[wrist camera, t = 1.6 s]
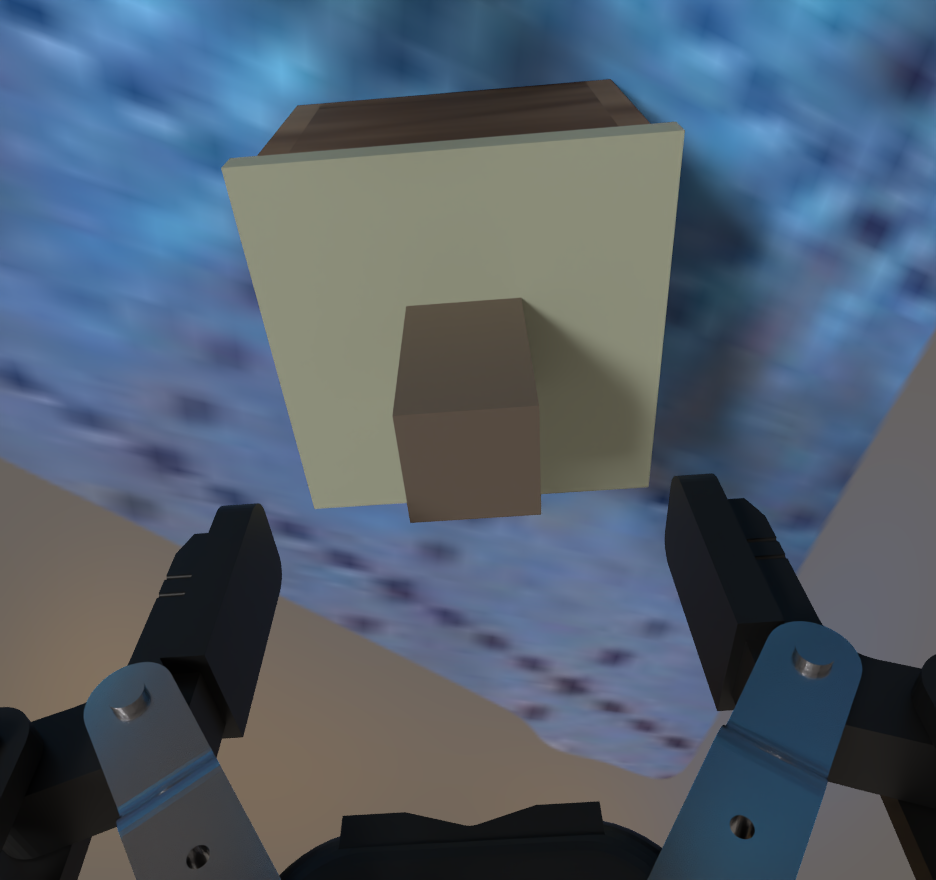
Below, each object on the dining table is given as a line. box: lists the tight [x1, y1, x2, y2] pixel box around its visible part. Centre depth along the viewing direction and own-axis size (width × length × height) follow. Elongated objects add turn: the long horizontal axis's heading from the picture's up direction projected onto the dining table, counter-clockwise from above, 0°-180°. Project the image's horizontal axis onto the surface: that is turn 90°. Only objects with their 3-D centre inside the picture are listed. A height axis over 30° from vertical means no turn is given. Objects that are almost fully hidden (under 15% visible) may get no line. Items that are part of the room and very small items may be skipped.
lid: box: [221, 122, 685, 523], centre depth 18 cm, size 11×11×6 cm
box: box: [257, 79, 650, 156], centre depth 23 cm, size 10×10×7 cm
